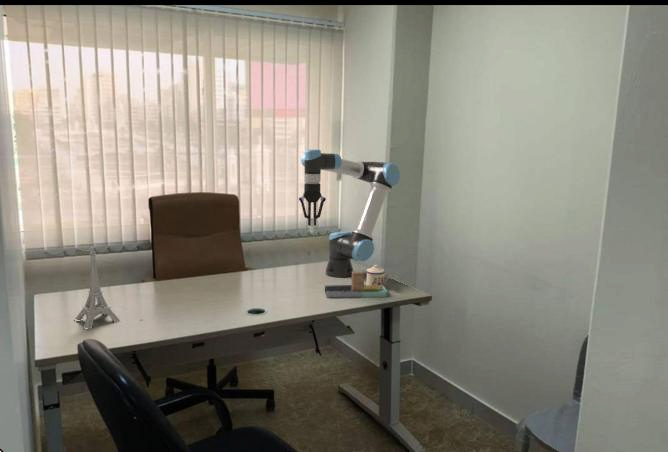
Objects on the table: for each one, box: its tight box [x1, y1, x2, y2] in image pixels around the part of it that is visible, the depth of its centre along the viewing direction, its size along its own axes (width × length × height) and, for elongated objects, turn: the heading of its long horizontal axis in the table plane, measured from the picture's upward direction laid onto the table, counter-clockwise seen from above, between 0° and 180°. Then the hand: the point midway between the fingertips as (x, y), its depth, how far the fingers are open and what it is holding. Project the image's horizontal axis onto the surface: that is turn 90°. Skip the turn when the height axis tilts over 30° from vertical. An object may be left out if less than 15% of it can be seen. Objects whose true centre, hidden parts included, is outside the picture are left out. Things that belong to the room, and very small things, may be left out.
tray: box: [361, 285, 389, 298], centre depth 234 cm, size 10×12×3 cm
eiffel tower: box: [74, 246, 121, 328], centre depth 194 cm, size 13×13×30 cm
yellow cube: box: [371, 285, 381, 292], centre depth 234 cm, size 4×4×4 cm
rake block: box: [351, 270, 365, 292], centre depth 233 cm, size 5×5×10 cm
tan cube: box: [364, 284, 372, 292], centre depth 234 cm, size 4×4×4 cm
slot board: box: [324, 284, 363, 299], centre depth 233 cm, size 12×16×4 cm
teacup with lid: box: [365, 264, 389, 287], centre depth 246 cm, size 12×9×12 cm
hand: (311, 232), depth 236 cm, fingers closed
